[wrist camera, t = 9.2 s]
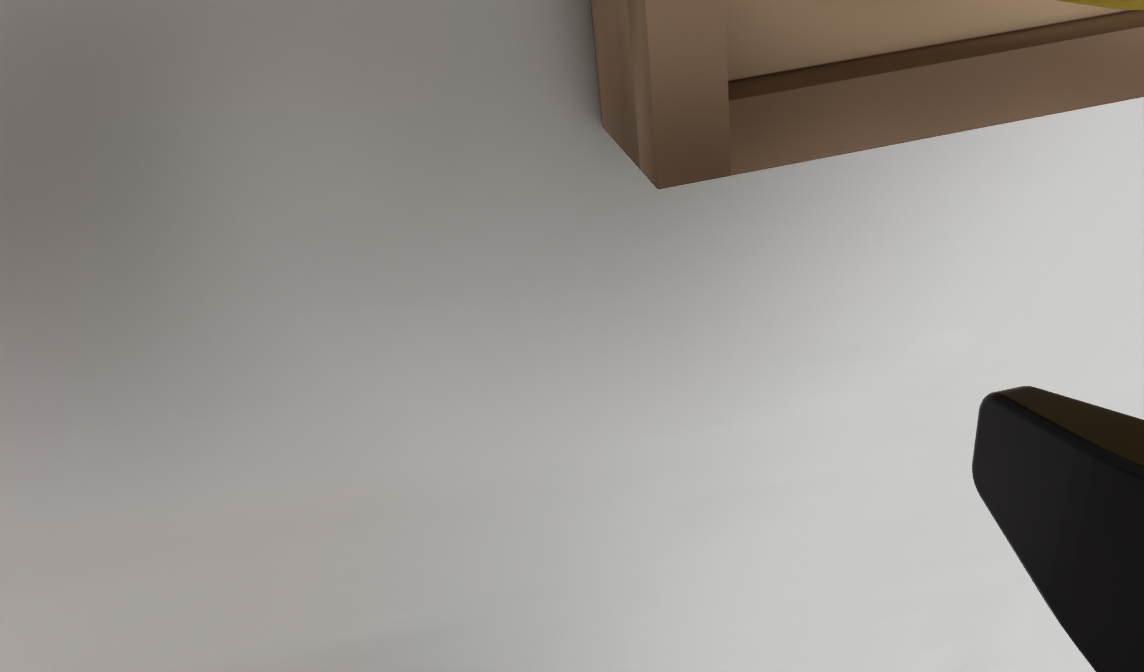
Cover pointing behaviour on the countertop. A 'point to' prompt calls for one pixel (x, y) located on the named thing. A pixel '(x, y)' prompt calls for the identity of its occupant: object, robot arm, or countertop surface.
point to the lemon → (1111, 3)
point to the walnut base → (843, 74)
